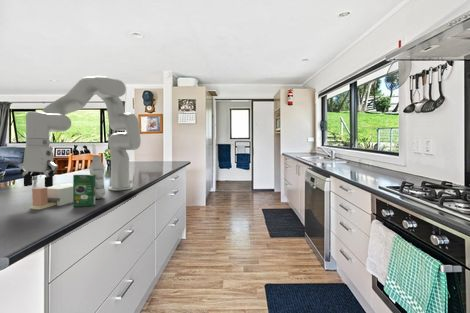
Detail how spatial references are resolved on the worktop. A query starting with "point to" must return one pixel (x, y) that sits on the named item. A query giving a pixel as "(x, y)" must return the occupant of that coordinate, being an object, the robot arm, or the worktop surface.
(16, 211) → the worktop surface
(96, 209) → the worktop surface
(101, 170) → the plastic bottle
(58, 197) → the dispenser
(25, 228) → the worktop surface
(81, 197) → the coffee box
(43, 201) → the block on flat board
